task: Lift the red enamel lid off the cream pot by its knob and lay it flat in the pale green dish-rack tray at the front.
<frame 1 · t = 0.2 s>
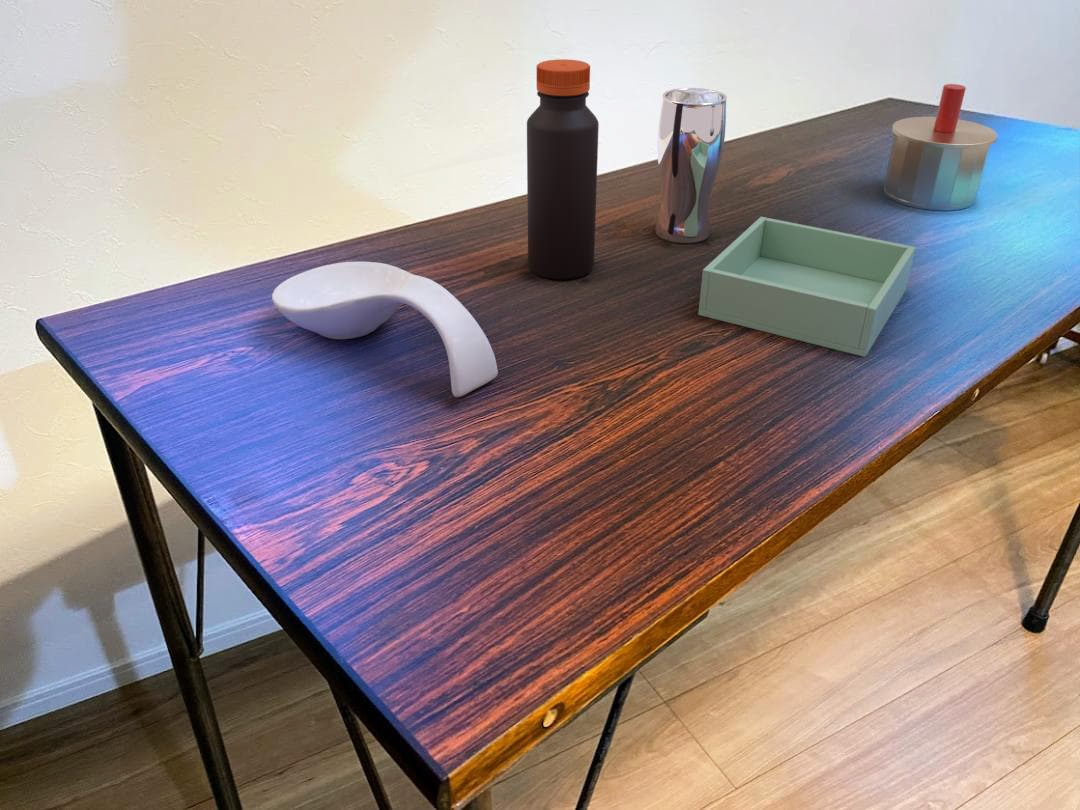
rack tray: (804, 302, 86), on the table
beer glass: (682, 234, 101), on the table
pot: (928, 195, 111), on the table
bottle: (560, 269, 93), on the table
spoon rest: (386, 345, 80), on the table
lid: (943, 134, 107), point 7 cm above the table, touching pot
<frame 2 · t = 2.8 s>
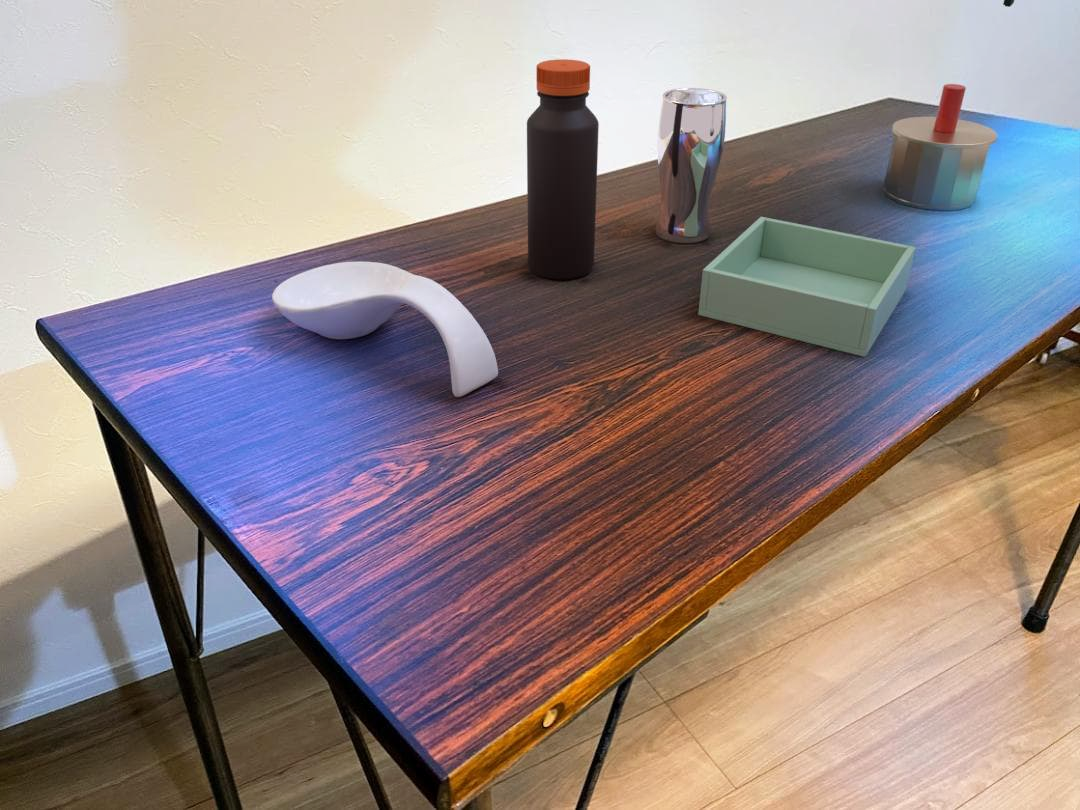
hand: (960, 0, 99), 22 cm above the table, tool pointing down, fingers open, 9 cm apart
nothing on the table moved.
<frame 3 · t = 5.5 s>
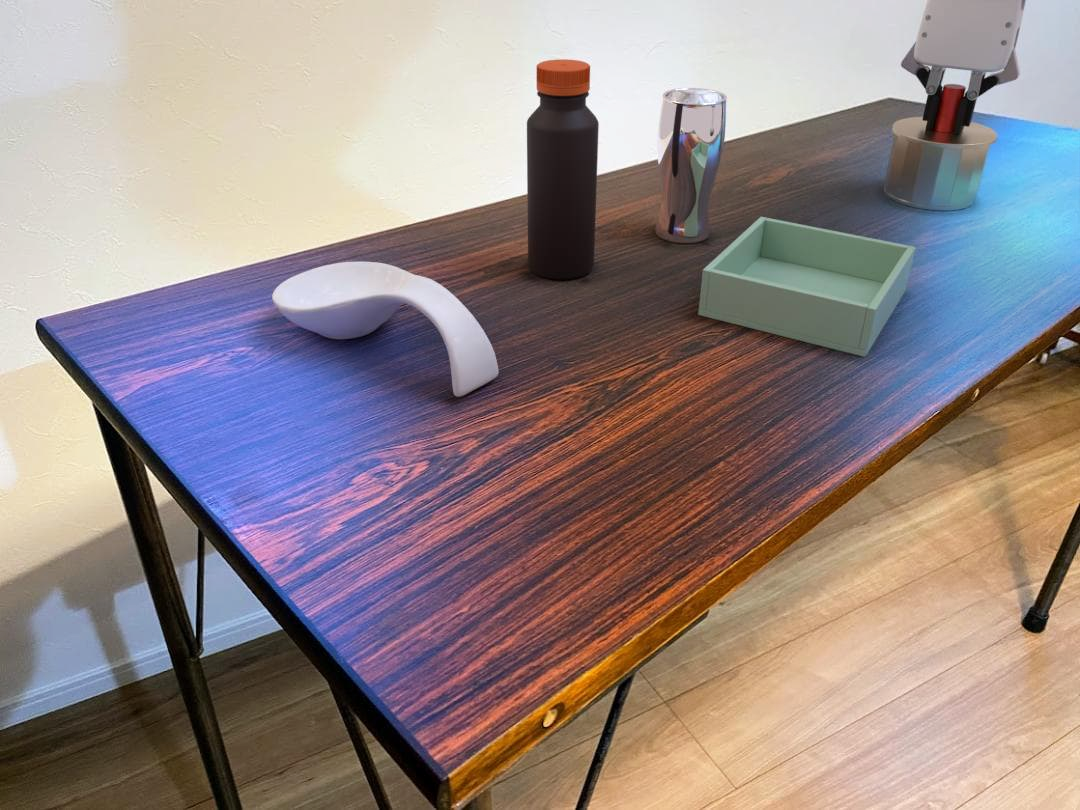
hand: (944, 128, 107), 8 cm above the table, tool pointing down, fingers closed on lid, 2 cm apart
lid: (943, 134, 107), point 8 cm above the table, touching gripper, pot
everything else where it was.
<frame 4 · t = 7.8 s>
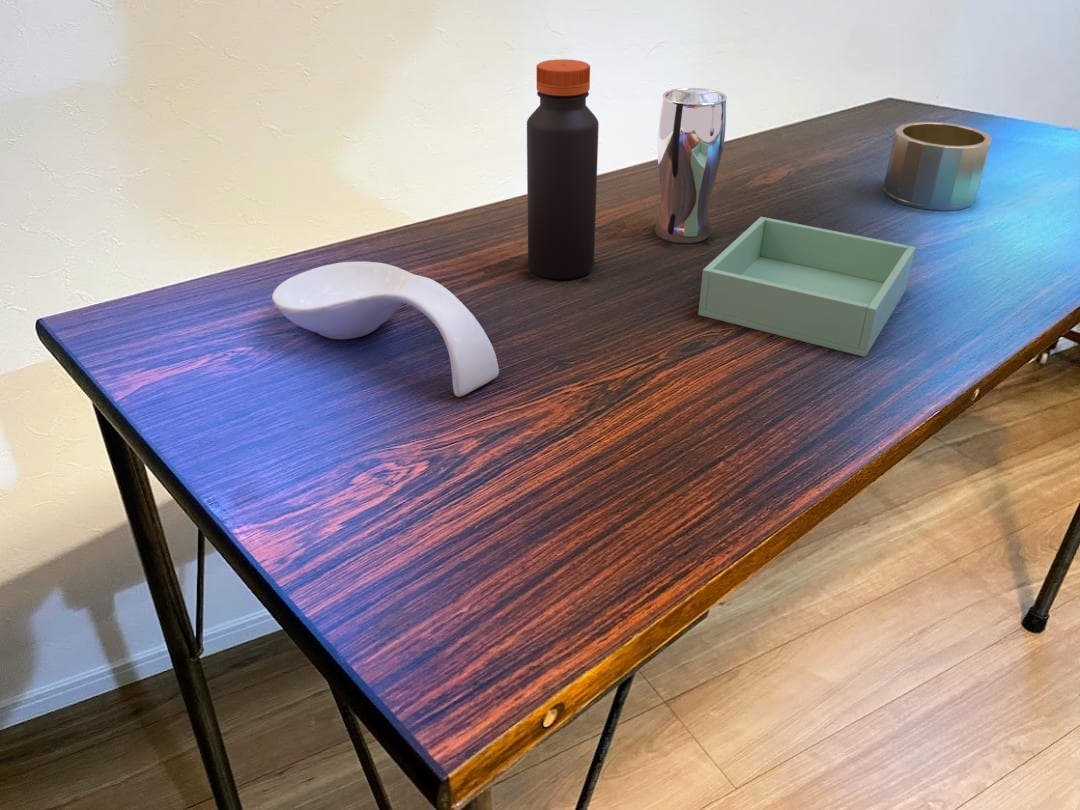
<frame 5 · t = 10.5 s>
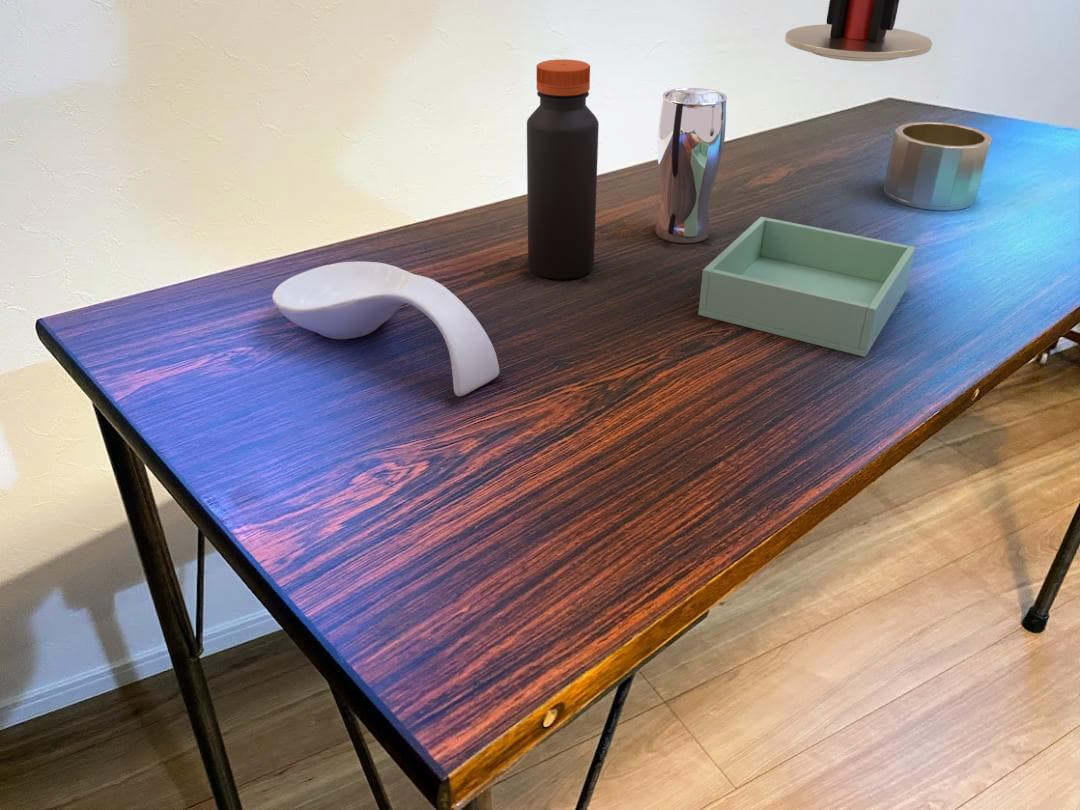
hand: (857, 35, 75), 24 cm above the table, tool pointing down, fingers closed on lid, 2 cm apart
lid: (856, 43, 75), point 23 cm above the table, touching gripper
everything else where it was.
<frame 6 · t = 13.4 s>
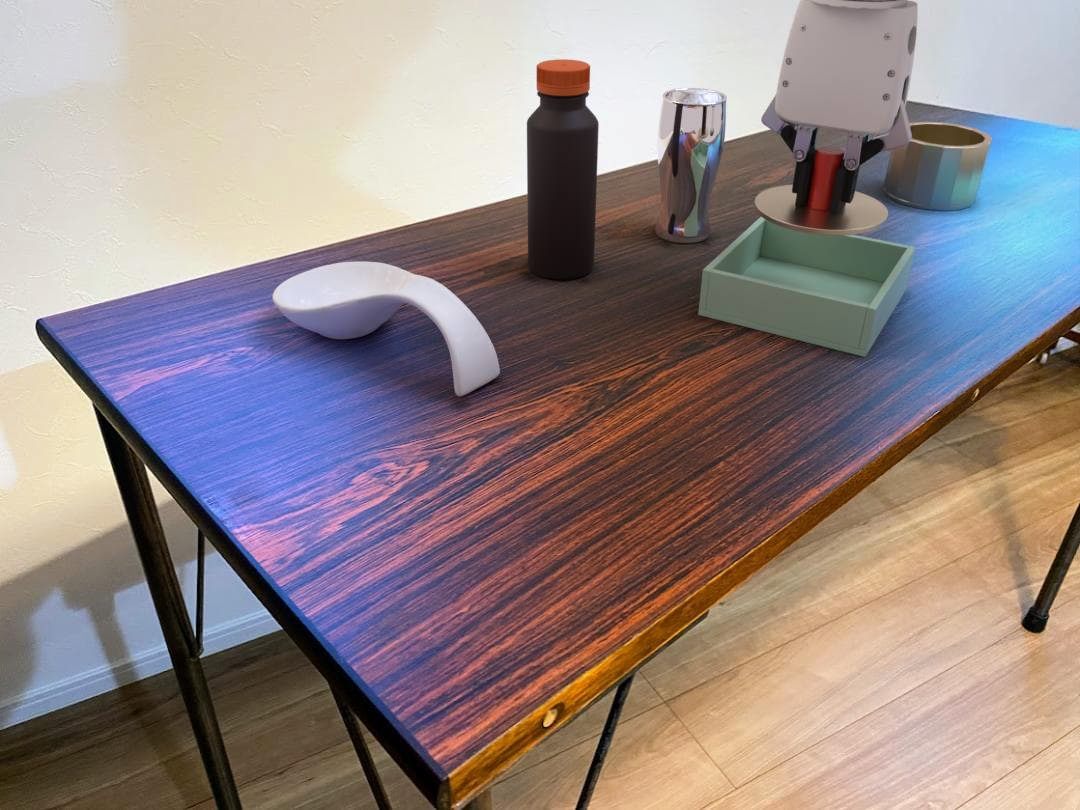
hand: (820, 203, 81), 10 cm above the table, tool pointing down, fingers closed on lid, 2 cm apart
lid: (819, 211, 82), point 9 cm above the table, touching gripper
everything else where it was.
when the fingers open (2 cm above the table, at t = 15.5 s): lid stays where it is, resting on rack tray.
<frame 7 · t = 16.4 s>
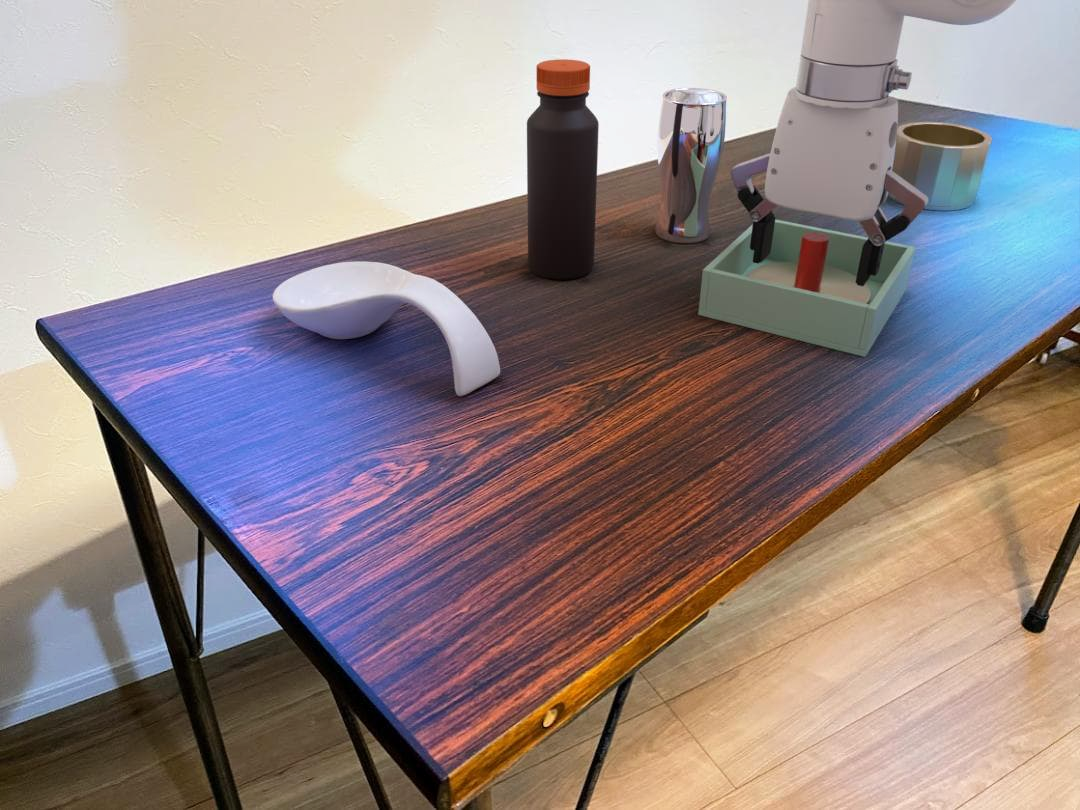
hand: (811, 269, 85), 3 cm above the table, tool pointing down, fingers open, 9 cm apart
lid: (806, 291, 86), point 1 cm above the table, touching rack tray
everything else where it was.
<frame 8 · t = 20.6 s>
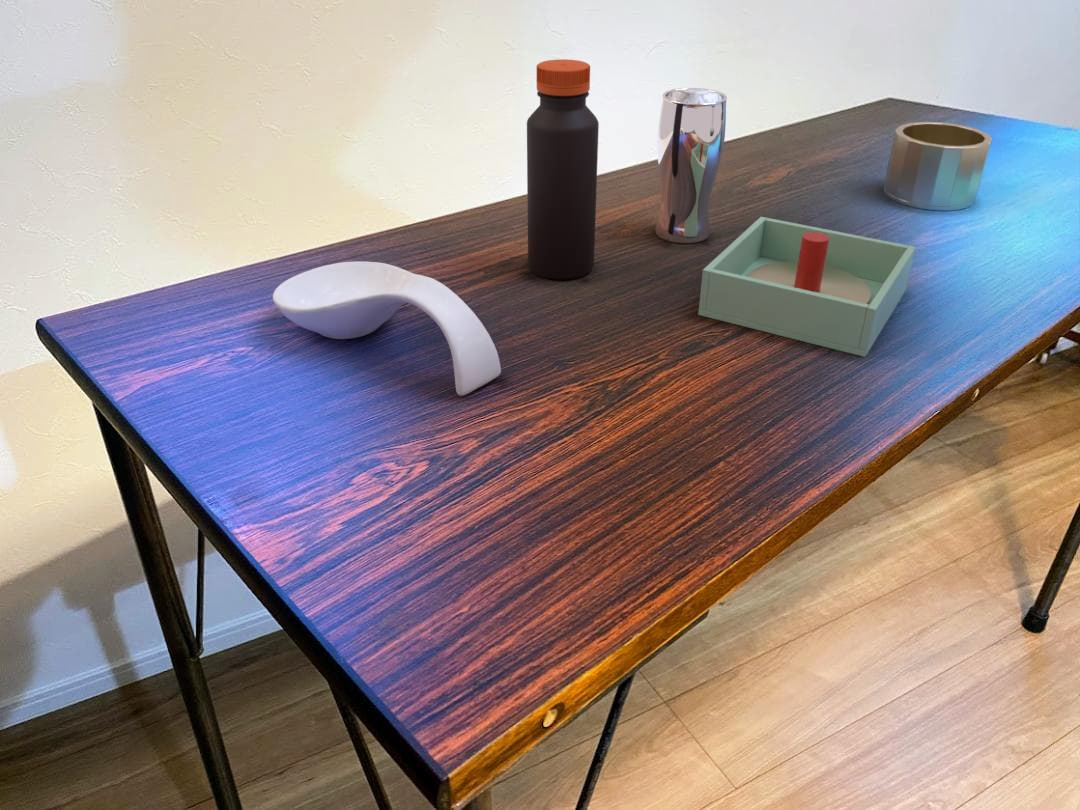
nothing on the table moved.
at the end: lid inside the target area in the rack tray (0.0 cm from its centre), point 1.2 cm above the rack tray's base; lid tilted 0° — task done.
